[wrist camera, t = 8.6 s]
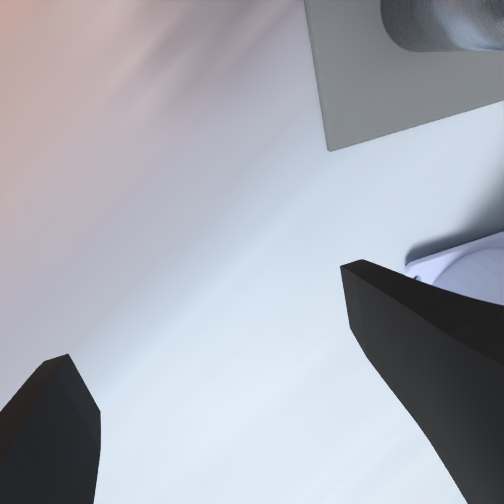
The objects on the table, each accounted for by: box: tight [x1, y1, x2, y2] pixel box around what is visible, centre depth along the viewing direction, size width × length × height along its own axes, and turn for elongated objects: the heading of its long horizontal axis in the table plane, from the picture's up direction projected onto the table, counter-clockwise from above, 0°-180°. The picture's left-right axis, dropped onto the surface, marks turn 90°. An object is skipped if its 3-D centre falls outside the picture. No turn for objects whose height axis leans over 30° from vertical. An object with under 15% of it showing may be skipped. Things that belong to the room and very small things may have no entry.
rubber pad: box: [304, 0, 504, 152], centre depth 18 cm, size 10×10×1 cm
